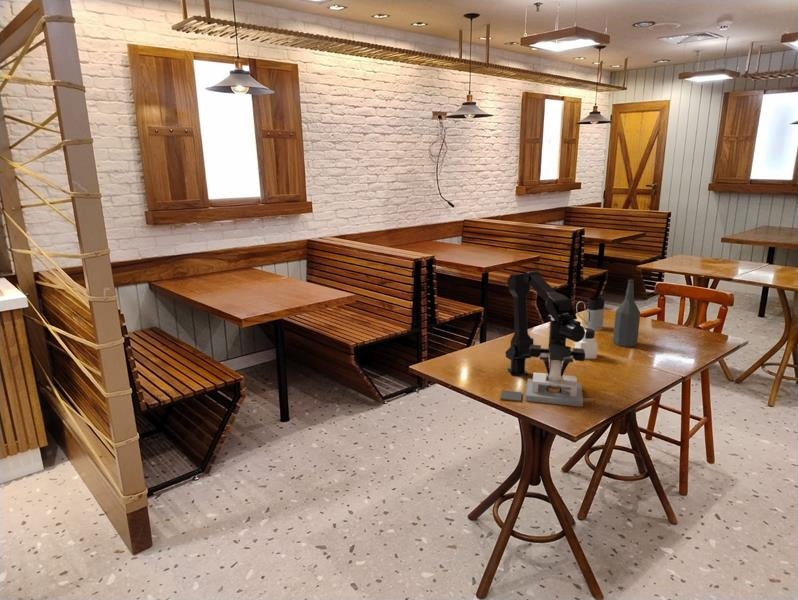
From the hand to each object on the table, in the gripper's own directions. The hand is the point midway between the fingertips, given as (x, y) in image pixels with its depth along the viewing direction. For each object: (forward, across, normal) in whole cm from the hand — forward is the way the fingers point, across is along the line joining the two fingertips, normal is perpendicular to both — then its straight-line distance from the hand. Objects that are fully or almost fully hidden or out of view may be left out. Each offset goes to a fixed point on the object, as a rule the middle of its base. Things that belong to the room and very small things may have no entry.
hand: (555, 375), depth 194 cm
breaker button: (+7, 0, 0) cm, 7 cm away
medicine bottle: (+8, +13, +45) cm, 48 cm away
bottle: (+8, +31, +67) cm, 74 cm away
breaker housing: (+7, 0, 0) cm, 7 cm away
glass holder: (+8, +17, +89) cm, 91 cm away
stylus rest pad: (+7, -14, -6) cm, 17 cm away
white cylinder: (+4, 0, 0) cm, 4 cm away
